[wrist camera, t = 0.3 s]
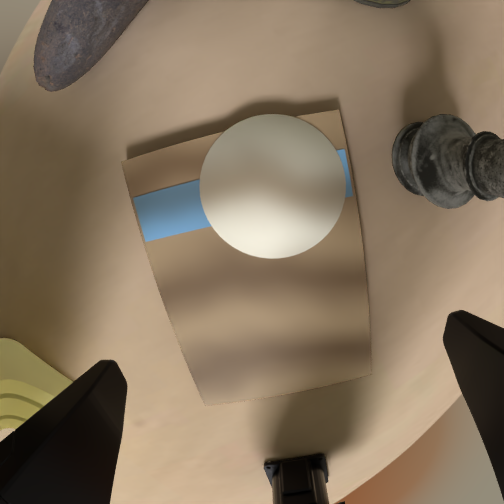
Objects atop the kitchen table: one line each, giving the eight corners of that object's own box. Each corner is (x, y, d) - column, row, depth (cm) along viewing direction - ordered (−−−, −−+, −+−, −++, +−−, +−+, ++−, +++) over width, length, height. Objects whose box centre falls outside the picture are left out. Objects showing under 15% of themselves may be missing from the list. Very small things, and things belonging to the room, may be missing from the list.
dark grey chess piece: (466, 151, 19) (590, 166, 8) (432, 215, 21) (550, 271, 9) (411, 101, 18) (534, 74, 7) (373, 169, 20) (490, 194, 8)
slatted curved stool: (6, 257, 22) (-141, 355, 5) (151, 358, 24) (71, 553, 7) (-6, 419, 29) (-59, 496, 12) (83, 479, 32) (47, 570, 15)
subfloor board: (368, 367, 24) (371, 375, 23) (206, 398, 25) (205, 406, 24) (333, 104, 18) (337, 101, 17) (125, 154, 19) (118, 154, 18)
